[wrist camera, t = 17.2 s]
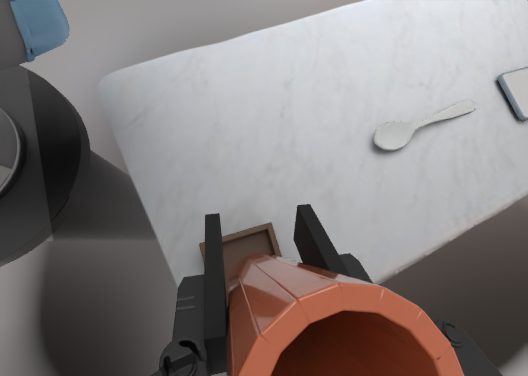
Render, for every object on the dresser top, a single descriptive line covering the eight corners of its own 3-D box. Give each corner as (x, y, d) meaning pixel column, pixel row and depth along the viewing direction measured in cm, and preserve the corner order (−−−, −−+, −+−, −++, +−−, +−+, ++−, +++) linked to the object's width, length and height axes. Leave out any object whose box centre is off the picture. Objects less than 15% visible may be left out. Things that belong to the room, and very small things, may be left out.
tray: (219, 315, 28) (218, 322, 25) (201, 243, 29) (199, 243, 27) (287, 290, 29) (293, 295, 27) (267, 223, 31) (271, 222, 28)
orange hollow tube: (236, 327, 17) (276, 670, 3) (220, 263, 18) (198, 334, 4) (296, 304, 18) (518, 506, 4) (278, 244, 18) (417, 253, 5)
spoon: (362, 133, 35) (368, 128, 34) (468, 91, 40) (478, 85, 38) (375, 159, 35) (383, 155, 33) (481, 114, 39) (492, 109, 38)
